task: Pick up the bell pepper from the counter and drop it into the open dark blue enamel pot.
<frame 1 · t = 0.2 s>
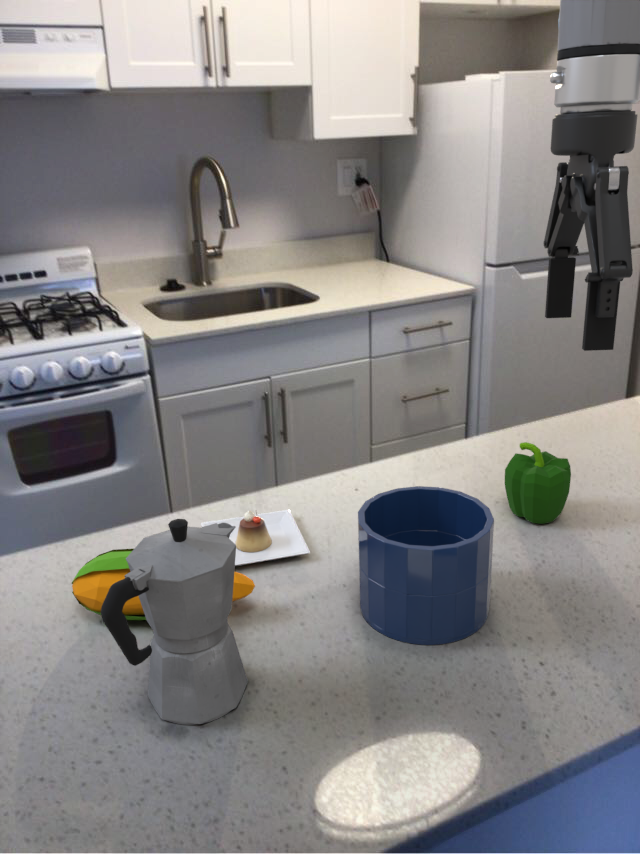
hand: (576, 332, 78), 28 cm above the worktop, tool pointing down, fingers open, 13 cm apart
pot: (423, 605, 82), on the worktop
coffeepot: (190, 700, 70), on the worktop
dessert: (253, 546, 96), on the worktop
bell pepper: (535, 516, 100), on the worktop
corn: (168, 612, 83), on the worktop
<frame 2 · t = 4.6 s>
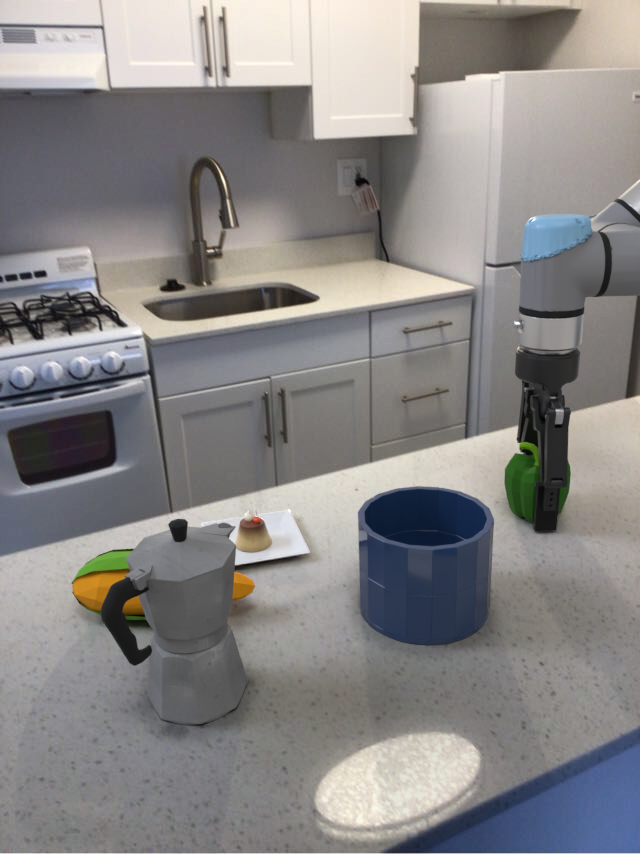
hand: (536, 513, 100), 0 cm above the worktop, tool pointing down, fingers closed on bell pepper, 8 cm apart
bell pepper: (535, 516, 100), on the worktop, touching gripper
everything else where it was.
when the fingers open (11 cm above the worktop, at t = 13.1 s): bell pepper drops 10 cm, resting on pot.
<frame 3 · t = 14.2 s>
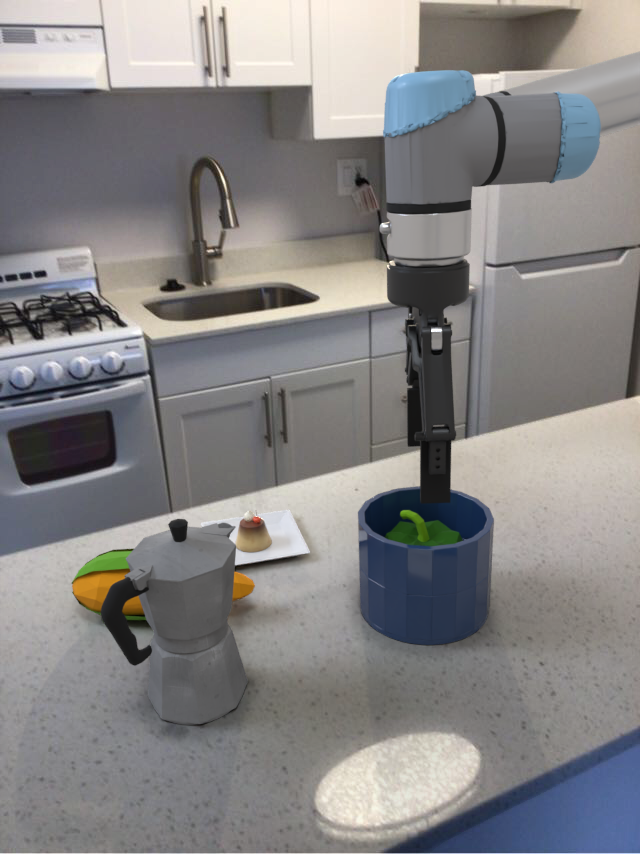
hand: (426, 471, 76), 16 cm above the worktop, tool pointing down, fingers open, 13 cm apart
bell pepper: (423, 598, 83), resting on pot
everything else where it was.
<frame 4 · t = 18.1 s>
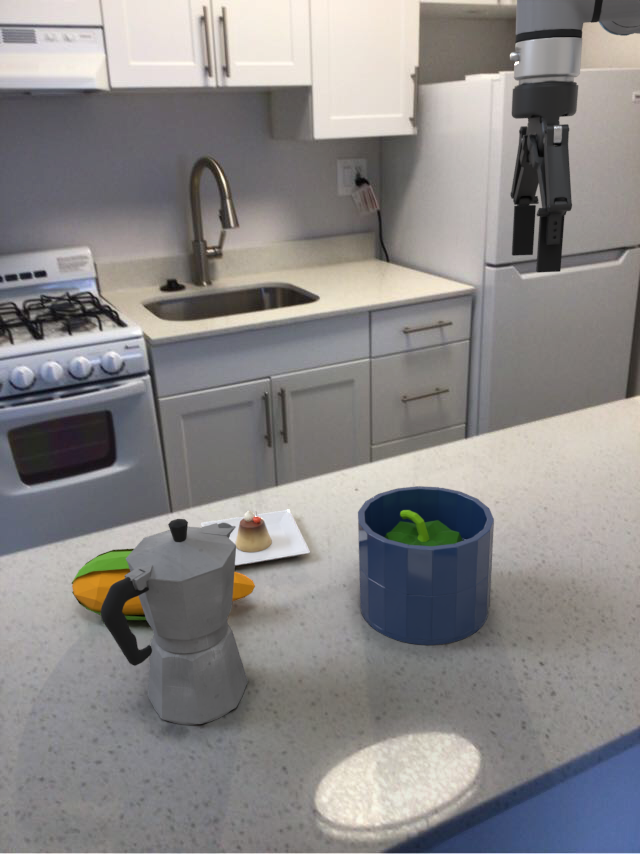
hand: (534, 263, 97), 32 cm above the worktop, tool pointing down, fingers open, 13 cm apart
nothing on the worktop moved.
at the end: bell pepper inside the target area in the pot (0.6 cm from its centre), point 0.4 cm above the pot's base; the gripper is holding nothing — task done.
